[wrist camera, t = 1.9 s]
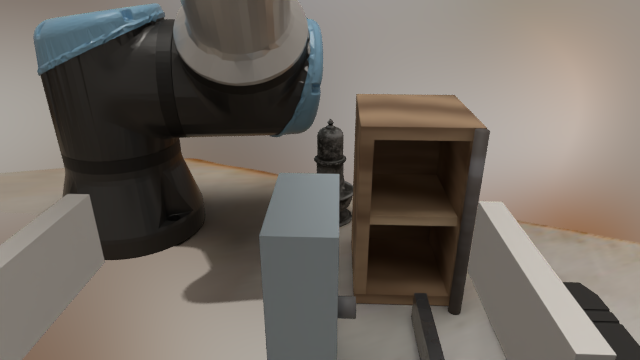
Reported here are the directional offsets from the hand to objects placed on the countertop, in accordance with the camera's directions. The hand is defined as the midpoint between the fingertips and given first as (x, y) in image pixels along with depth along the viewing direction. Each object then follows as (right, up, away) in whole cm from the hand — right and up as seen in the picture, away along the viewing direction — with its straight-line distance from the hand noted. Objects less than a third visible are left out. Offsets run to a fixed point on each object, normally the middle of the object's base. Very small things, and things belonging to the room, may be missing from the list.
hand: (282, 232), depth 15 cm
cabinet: (+9, -7, +28) cm, 30 cm away
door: (0, -12, +16) cm, 20 cm away
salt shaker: (+2, -3, +38) cm, 38 cm away
